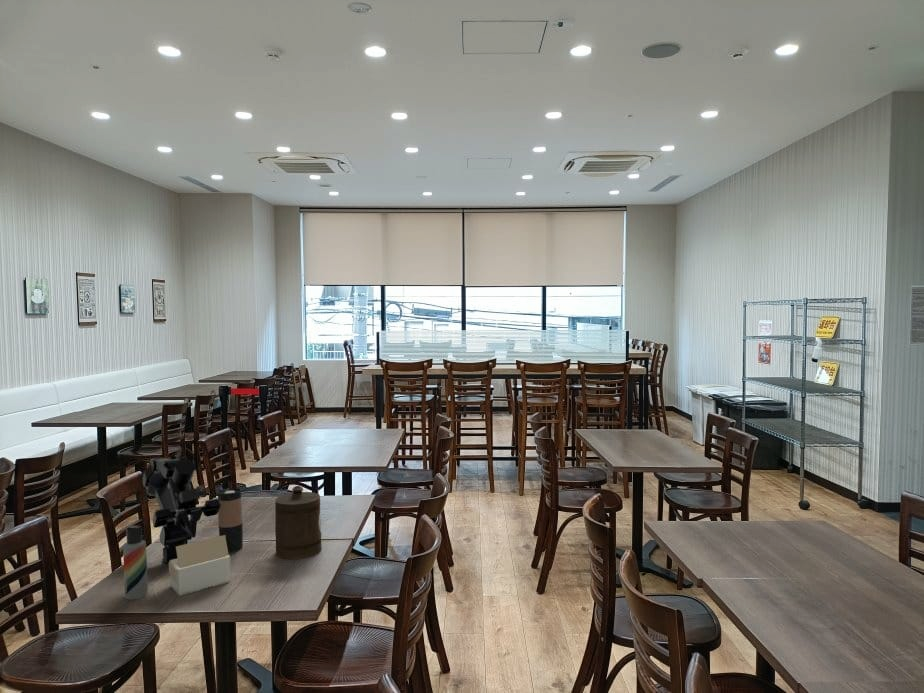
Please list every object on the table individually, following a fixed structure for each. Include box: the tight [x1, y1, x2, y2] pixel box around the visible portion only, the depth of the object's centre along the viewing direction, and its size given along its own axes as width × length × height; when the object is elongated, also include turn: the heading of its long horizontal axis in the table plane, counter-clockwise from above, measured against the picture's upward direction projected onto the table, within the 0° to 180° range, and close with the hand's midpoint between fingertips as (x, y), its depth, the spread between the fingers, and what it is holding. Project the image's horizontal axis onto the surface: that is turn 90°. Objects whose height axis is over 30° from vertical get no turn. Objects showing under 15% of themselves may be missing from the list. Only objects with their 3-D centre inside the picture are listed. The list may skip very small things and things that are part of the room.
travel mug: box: [217, 487, 244, 553], centre depth 206 cm, size 8×8×20 cm
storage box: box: [168, 554, 231, 597], centre depth 178 cm, size 10×15×8 cm, turn 130°
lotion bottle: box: [122, 525, 149, 601], centre depth 171 cm, size 6×6×20 cm
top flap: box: [176, 535, 230, 568], centre depth 175 cm, size 6×14×1 cm
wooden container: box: [274, 485, 323, 560], centre depth 202 cm, size 15×15×22 cm
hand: (194, 536), depth 181 cm, fingers closed
